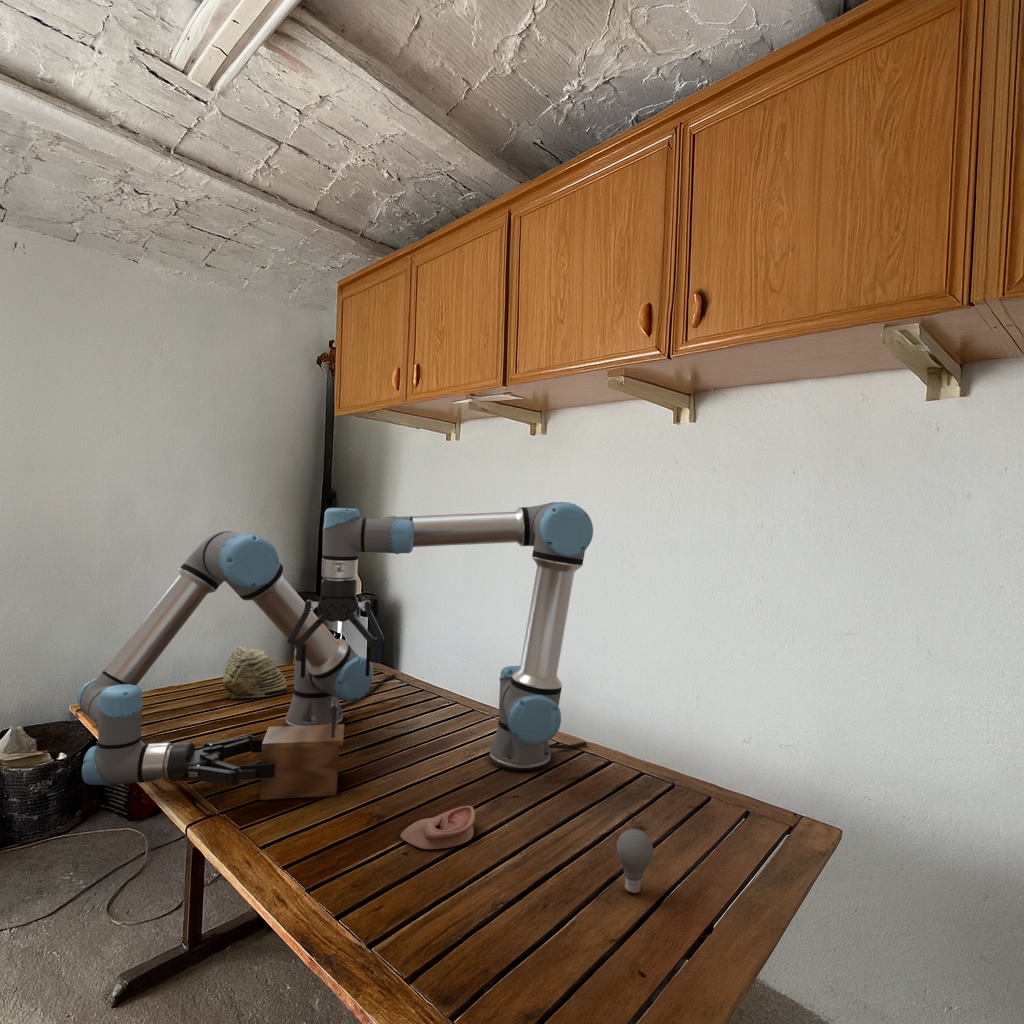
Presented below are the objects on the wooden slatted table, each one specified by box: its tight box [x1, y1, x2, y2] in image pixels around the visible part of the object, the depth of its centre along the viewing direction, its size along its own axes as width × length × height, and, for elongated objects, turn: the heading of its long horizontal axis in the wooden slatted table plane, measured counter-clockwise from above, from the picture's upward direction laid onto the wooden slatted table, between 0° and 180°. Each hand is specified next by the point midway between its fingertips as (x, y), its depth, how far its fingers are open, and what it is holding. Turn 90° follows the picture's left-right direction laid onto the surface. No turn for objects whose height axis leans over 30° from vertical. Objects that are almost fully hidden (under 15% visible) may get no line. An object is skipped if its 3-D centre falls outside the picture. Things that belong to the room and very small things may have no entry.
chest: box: [259, 746, 340, 801], centre depth 138 cm, size 15×10×11 cm, turn 103°
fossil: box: [222, 646, 288, 699], centre depth 198 cm, size 9×18×15 cm, turn 132°
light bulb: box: [615, 828, 654, 894], centre depth 106 cm, size 6×6×10 cm
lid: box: [262, 697, 345, 749], centre depth 138 cm, size 16×10×8 cm, turn 103°
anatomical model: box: [399, 805, 476, 850], centre depth 121 cm, size 13×4×12 cm
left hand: (279, 756), depth 136 cm, fingers open, 13 cm apart
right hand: (335, 675), depth 139 cm, fingers open, 13 cm apart
